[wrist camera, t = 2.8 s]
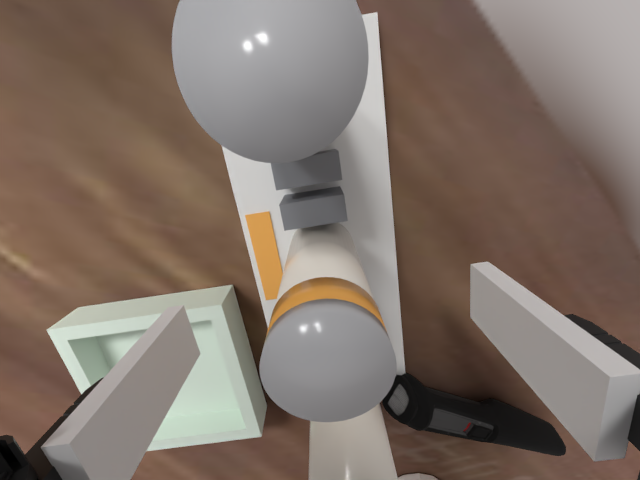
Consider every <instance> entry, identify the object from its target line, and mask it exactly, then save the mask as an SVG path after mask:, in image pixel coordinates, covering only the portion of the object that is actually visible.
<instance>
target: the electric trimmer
mask: <svg viewBox="0 0 640 480" xmlns="http://www.w3.org/2000/svg"><path fill="white" fill-rule="evenodd" d="M383 405H384V408H385V409H386V411H387V412H388V413H389V414H390V415H391V416H392V417H393V418H395V419H396V420H398V421H399V422H401V423H403V424H406V425H408V426H409V427H411V428H413V429H416V430H424V431H429V432H434V433H440V434H445V435H450V436H455V437H460V438H465V439H470V440H475V441H480V442H490V443H495V444H501V445H506V446H511V447H516V448H521V449H526V450H530V451H535V452H540V453H545V454H550V455H555V456H561V455H564V454H565V452H566V447H565V445H564V443H563V441H562V439H561V438H560V436H559V435H558V433H557V432H556V430H555V428H554V427H553V426H552V425H551V424H550V423H548V422H546V421H544V420H542V419H540V418H538V417H535V416H533V415H531V414H528V413H526V412H524V411H522V410H519V409H517V408H515V407H512V406H510V405H508V404H505V403H503V402H500V401H498V400H495V399H487V400H484V401H481V402H476V401H473V400H469V399H466V398H463V397H459V396H456V395H452V394H449V393H445V392H442V391H438V390H435V389H431V388H428V387H424V386H423V385H422V384H421V383H420V382H419V381H418V380H417V379H415V378H414V377H413V376H411V375H409V374H407V373H404V374H403V375H402V376H401V375H396V376H395V379H394V383H393V385H392V387H391V389H390V391H389V392H388V394H387V395H386V396H385V397H384V399H383Z"/></svg>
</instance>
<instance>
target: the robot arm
mask: <svg viewBox="0 0 640 480" xmlns="http://www.w3.org/2000/svg"><path fill="white" fill-rule="evenodd" d="M470 318H471V319H472V320H473V321H474V322H475V323H476V325H477V326H478V327H479V328H480V329H481V330H482V332H483V333H484V334H485V335H486V336H487V337H488V339H489V340H490V341H491V342H492V343H493V344H494V346H495V347H496V348H497V349H498V350H499V351H500V353H501V354H502V355H503V356H504V357H505V358H506V360H507V361H508V362H509V363H510V364H511V365H512V366H513V368H514V369H515V370H516V371H517V372H518V373H519V375H520V376H521V377H522V378H523V379H524V380H525V382H526V383H527V384H528V385H529V386H530V387H531V389H532V390H533V391H534V392H535V393H536V394H537V396H538V397H539V398H540V399H541V400H542V401H543V403H544V404H545V405H546V406H547V407H548V408H549V410H550V411H551V412H552V413H553V414H554V415H555V417H556V418H557V419H558V420H559V421H560V422H561V423H562V425H563V426H564V427H565V428H566V429H567V430H568V432H569V433H570V434H571V435H572V436H573V437H574V439H575V440H576V441H577V442H578V443H579V444H580V446H581V447H582V448H583V449H584V450H585V451H586V453H587V454H588V455H589V456H590V457H591V458H592V460H593V461H602V460H611V459H620V458H625V454H626V450H627V446H628V441H630V442H631V443H632V444H633V445H634V446H635V447H636V448H637V449H638V450H639V451H640V354H639V353H638V352H636V351H635V350H633V349H632V348H630V347H629V346H627V345H626V344H622V343H621V341H619V340H618V339H616V338H615V337H613V336H612V335H608V333H607V332H606V331H604V330H603V329H601V328H600V327H598V326H597V325H595V324H594V323H592V322H590V321H588V320H585V319H583V318H580V317H578V316H575V315H573V314H570V315H562V314H561V313H560V312H558V311H557V310H555V309H554V308H553V307H551V306H550V305H548V304H547V303H546V302H544V301H543V300H541V299H540V298H539V297H537V296H536V295H534V294H533V293H531V292H530V291H529V290H527V289H526V288H524V287H523V286H522V285H520V284H519V283H517V282H516V281H515V280H513V279H512V278H510V277H509V276H508V275H506V274H505V273H503V272H502V271H501V270H499V269H498V268H496V267H495V266H494V265H492V264H491V263H489V262H482V263H475V264H471V265H470ZM199 356H200V351H199V348H198V345H197V342H196V339H195V336H194V333H193V330H192V328H191V325H190V322H189V319H188V316H187V313H186V310H185V307H184V305H181V306H174V307H168V308H167V309H166V310H165V311H164V312H163V313H162V314H161V315H160V316H159V318H158V319H157V320H156V321H155V322H154V323H153V324H152V325H151V326H150V327H149V329H148V330H147V331H146V332H145V333H144V334H143V335H142V336H141V337H140V338H139V340H138V341H137V342H136V343H135V344H134V345H133V346H132V347H131V348H130V349H129V351H128V352H127V353H126V354H125V355H124V356H123V357H122V358H121V359H120V360H119V362H118V363H117V364H116V365H115V366H114V367H113V368H112V369H111V370H110V371H109V373H108V374H107V375H106V376H105V377H104V378H101V379H100V380H98V381H97V382H96V383H94V384H93V385H92V386H90V387H89V388H88V389H86V390H85V391H84V392H83V393H82V395H81V396H80V397H79V398H78V399H77V400H76V401H75V402H74V405H71V406H70V407H69V408H68V410H67V411H66V412H65V413H64V415H63V416H62V417H60V418H59V419H58V420H57V421H56V422H55V423H54V424H53V426H52V427H51V428H50V429H49V430H48V431H47V432H46V433H45V434H44V435H43V436H42V437H41V438H40V439H39V440H38V442H37V443H36V444H35V445H34V446H33V447H32V448H31V449H30V450H29V451H28V452H27V453H26V454H25V455H24V453H23V451H22V450H21V448H20V447H19V445H18V444H17V442H16V441H15V439H14V438H13V436H9V435H4V436H0V480H130V479H131V478H132V476H133V474H134V472H135V470H136V469H137V467H138V465H139V463H140V461H141V460H142V458H143V456H144V454H145V452H146V451H147V449H148V447H149V445H150V444H151V442H152V440H153V438H154V436H155V435H156V433H157V431H158V429H159V427H160V426H161V424H162V422H163V420H164V418H165V417H166V415H167V413H168V411H169V409H170V408H171V406H172V404H173V402H174V400H175V399H176V397H177V395H178V393H179V391H180V390H181V388H182V386H183V384H184V382H185V381H186V379H187V377H188V375H189V373H190V372H191V370H192V368H193V366H194V365H195V363H196V361H197V359H198V357H199ZM637 480H640V472H639V476H638V479H637Z"/></svg>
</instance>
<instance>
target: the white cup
mask: <svg viewBox="0 0 640 480" xmlns="http://www.w3.org/2000/svg"><path fill="white" fill-rule="evenodd" d="M398 480H438V479H437V478H435V477H434V476H432V475H427V474H422V473H414V474H407V475H402V476H400V477H398Z"/></svg>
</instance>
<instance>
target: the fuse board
mask: <svg viewBox="0 0 640 480" xmlns="http://www.w3.org/2000/svg"><path fill="white" fill-rule="evenodd" d="M362 17H363V21H364V25H365V29H366V34H367V41H368V53H369V63H368V75H367V80H366V85H365V89H364V92H363V95H362V99H361V102H360V104H359V106H358V108H357V110H356V112H355V114H354V116H353V118H352V119H351V121H350V122H349V124H348V125H347V127H346V128H345V129H344V130H343V132H342V133H341V134H340V135H339V136H338V137H337V138H336V139H335V140H334V141H333V142H332V143H330V144H329V145H328V146H326V147H325V148H324V149H322V150H321V151H319V152H317V153H315V154H313V155H311V156H309V157H306V158H304V159H301V160H297V161H293V162H287V163H265V162H259V161H254V160H251V159H248V158H244V157H242V156H240V155H238V154H235V153H233V152H231V151H230V150H228V149H227V148H225V147H223V146H222V149H223V153H224V157H225V161H226V165H227V169H228V173H229V177H230V181H231V185H232V189H233V192H234V196H235V200H236V204H237V208H238V212H239V216H240V220H241V224H242V228H243V232H244V236H245V240H246V244H247V248H248V252H249V256H250V260H251V264H252V268H253V272H254V275H255V279H256V283H257V287H258V291H259V295H260V299H261V303H262V307H263V311H264V315H265V319H266V323H267V327H269V323H270V319H271V315H272V312H273V309H274V307H275V304H276V300H277V296H278V292H279V288H280V284H281V280H282V275H283V271H284V267H285V263H286V259H287V255H288V251H289V247H290V243H291V239H292V237H293V235H294V233H295V232H296V231H297V229H299V228H306V227H312V226H319V225H325V224H332V223H340V224H341V225H343V226H344V227H345V228H346V229H347V230H348V231H349V233H350V235H351V236H352V239H353V242H354V245H355V247H356V250H357V253H358V256H359V259H360V262H361V264H362V267H363V270H364V273H365V276H366V278H367V281H368V284H369V287H370V290H371V293H372V295H373V298H374V301H375V302H376V304H377V306H378V308H379V311H380V314H381V317H382V320H383V322H384V325H385V328H386V331H387V333H388V336H389V339H390V342H391V344H392V347H393V350H394V353H395V356H396V362H397V370H396V375H401V376H402V375H403V374H404V373H405V362H404V349H403V336H402V323H401V311H400V298H399V285H398V272H397V259H396V247H395V234H394V221H393V208H392V195H391V182H390V170H389V157H388V144H387V131H386V118H385V106H384V93H383V80H382V67H381V54H380V41H379V29H378V16H377V12H375V13H370V14H364V15H362Z"/></svg>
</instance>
